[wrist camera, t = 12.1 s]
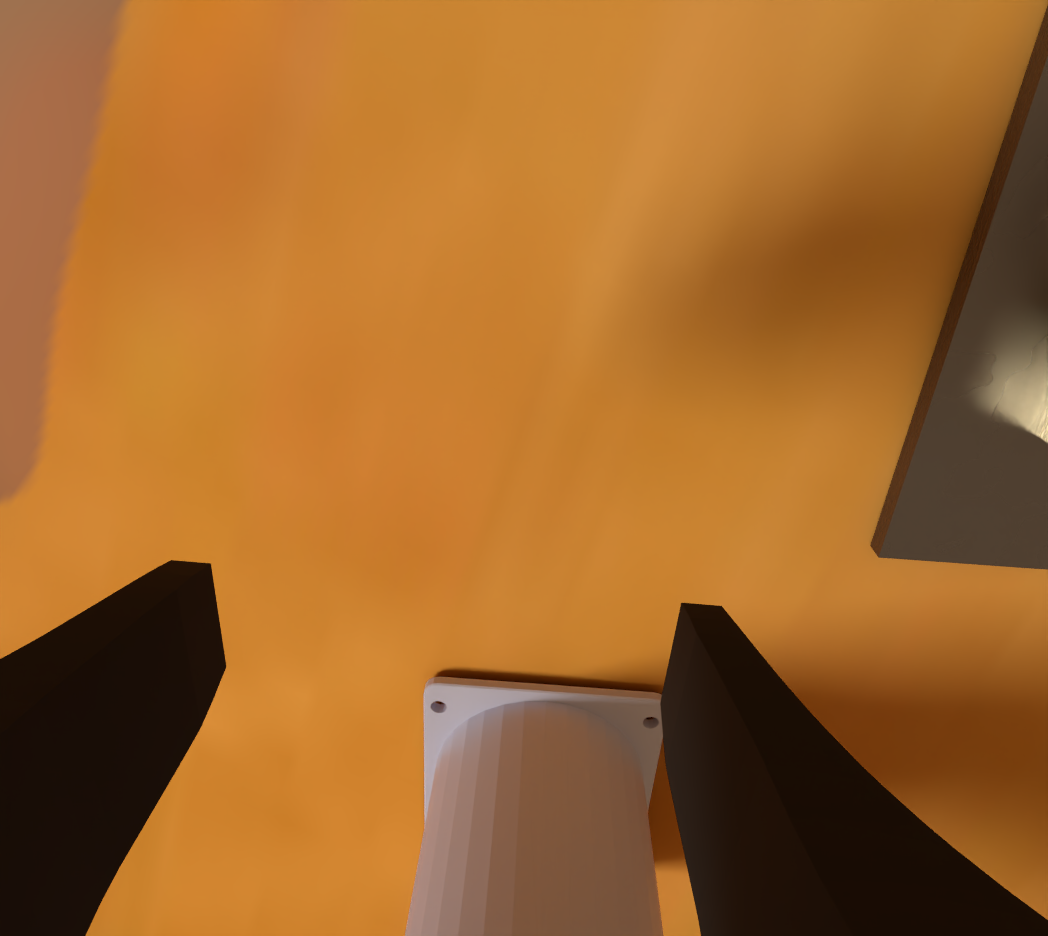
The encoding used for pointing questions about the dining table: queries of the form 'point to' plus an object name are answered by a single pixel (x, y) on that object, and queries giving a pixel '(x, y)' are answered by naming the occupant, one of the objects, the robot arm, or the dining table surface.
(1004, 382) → the grey framed slot plate
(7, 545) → the dining table surface
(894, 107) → the dining table surface
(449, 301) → the dining table surface
